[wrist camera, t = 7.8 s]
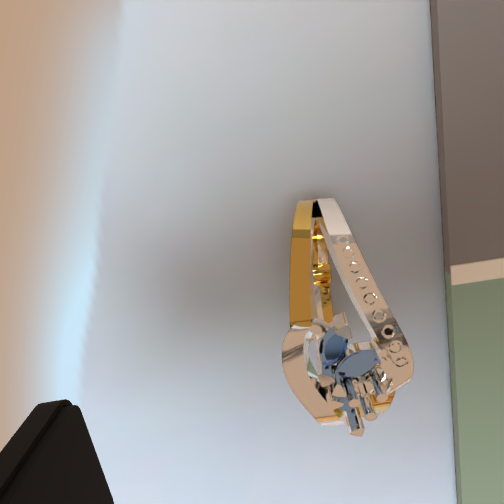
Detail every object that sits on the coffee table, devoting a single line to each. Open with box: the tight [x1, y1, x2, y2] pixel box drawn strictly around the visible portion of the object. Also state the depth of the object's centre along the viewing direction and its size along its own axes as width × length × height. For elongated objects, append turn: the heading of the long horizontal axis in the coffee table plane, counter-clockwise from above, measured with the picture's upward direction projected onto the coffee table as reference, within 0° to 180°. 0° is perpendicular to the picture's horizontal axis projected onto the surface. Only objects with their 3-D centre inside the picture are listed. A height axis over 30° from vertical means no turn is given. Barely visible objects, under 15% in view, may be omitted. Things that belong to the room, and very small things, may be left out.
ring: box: [282, 198, 414, 436], centre depth 14 cm, size 7×3×8 cm, turn 5°
